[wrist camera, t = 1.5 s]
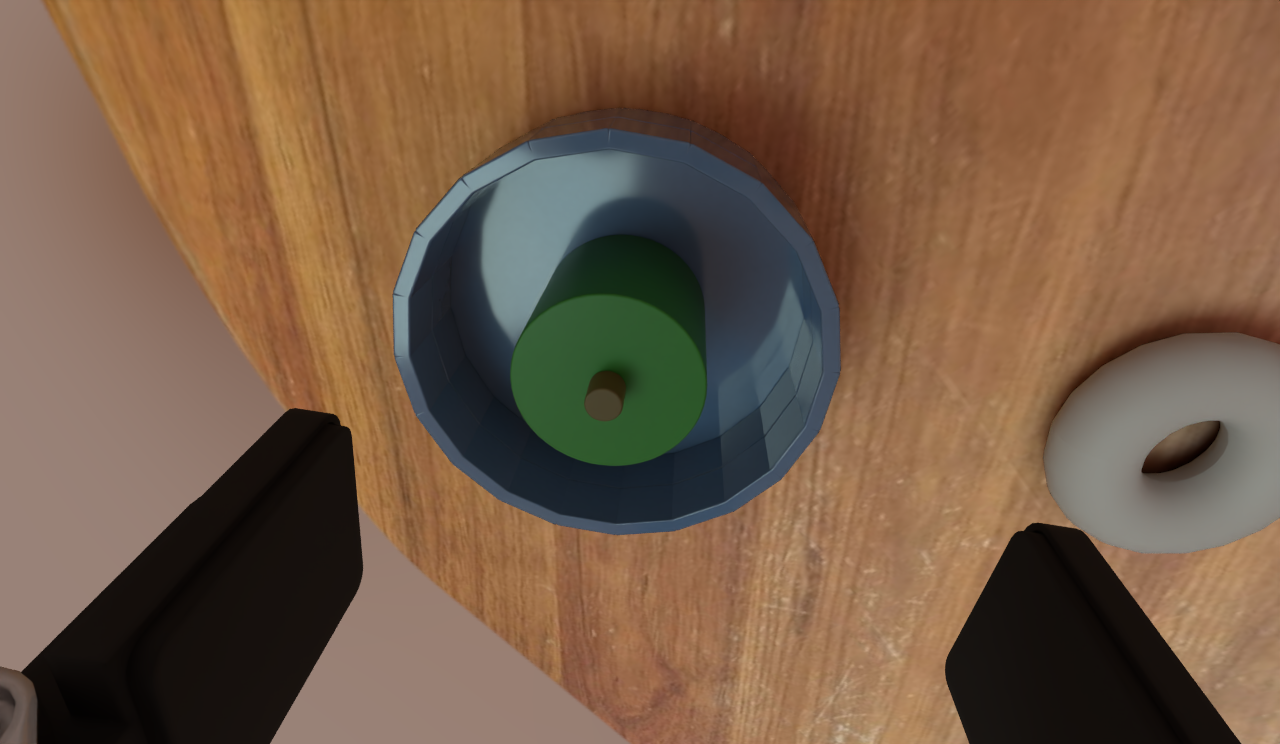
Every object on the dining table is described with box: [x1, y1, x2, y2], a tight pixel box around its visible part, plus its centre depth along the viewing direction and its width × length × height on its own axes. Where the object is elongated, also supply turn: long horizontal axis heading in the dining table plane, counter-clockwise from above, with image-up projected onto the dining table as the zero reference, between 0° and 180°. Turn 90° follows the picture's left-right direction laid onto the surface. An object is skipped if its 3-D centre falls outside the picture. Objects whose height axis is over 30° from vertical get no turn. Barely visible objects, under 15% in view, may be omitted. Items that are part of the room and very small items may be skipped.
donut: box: [1043, 332, 1280, 553], centre depth 27 cm, size 10×4×10 cm
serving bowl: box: [393, 108, 841, 535], centre depth 25 cm, size 15×15×5 cm
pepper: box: [510, 235, 707, 466], centre depth 24 cm, size 6×6×7 cm
